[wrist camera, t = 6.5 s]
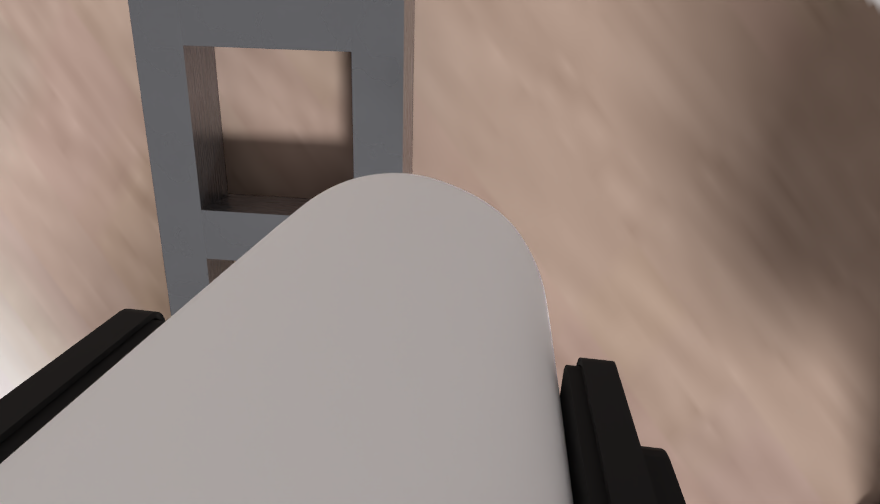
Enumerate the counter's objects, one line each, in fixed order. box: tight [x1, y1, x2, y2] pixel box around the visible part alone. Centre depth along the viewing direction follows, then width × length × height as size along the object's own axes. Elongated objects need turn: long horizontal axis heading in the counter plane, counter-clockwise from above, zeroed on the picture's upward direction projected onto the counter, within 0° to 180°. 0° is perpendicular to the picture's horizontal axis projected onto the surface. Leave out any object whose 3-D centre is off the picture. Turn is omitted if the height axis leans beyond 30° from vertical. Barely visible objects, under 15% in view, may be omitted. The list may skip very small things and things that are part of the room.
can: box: [0, 173, 574, 504], centre depth 9 cm, size 6×6×12 cm
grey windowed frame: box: [128, 0, 415, 316], centre depth 31 cm, size 12×22×3 cm, turn 178°
